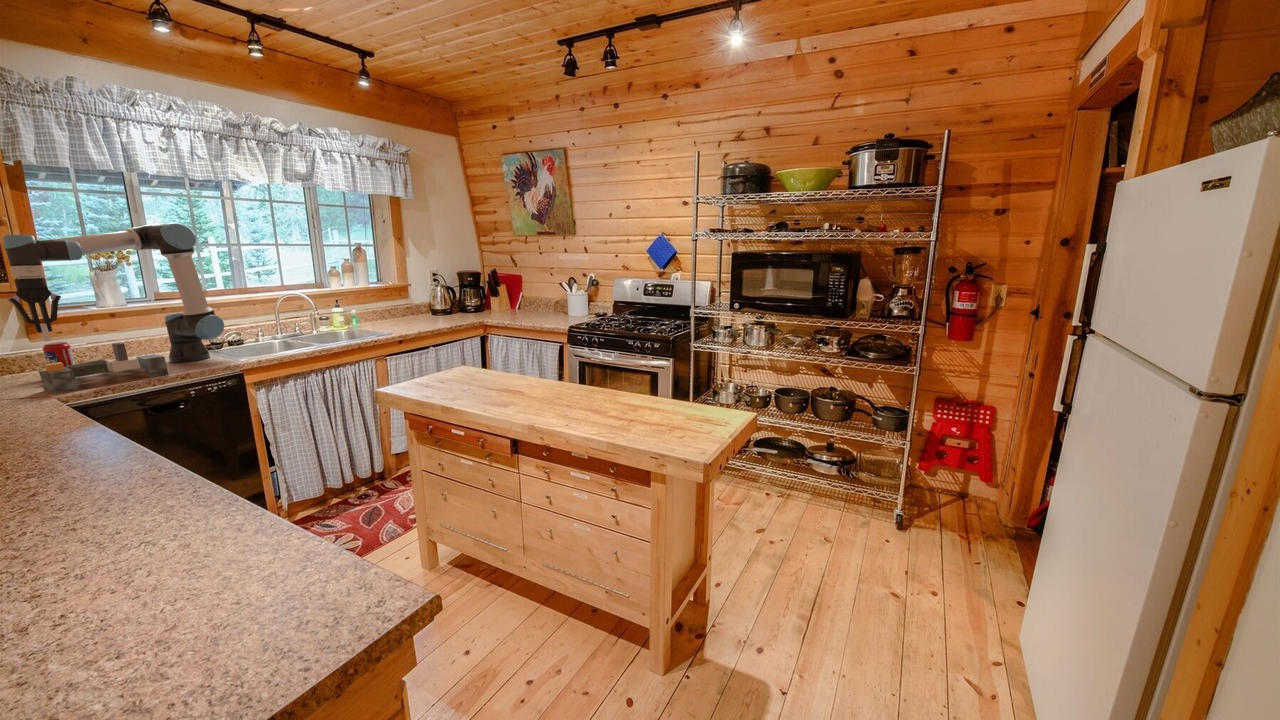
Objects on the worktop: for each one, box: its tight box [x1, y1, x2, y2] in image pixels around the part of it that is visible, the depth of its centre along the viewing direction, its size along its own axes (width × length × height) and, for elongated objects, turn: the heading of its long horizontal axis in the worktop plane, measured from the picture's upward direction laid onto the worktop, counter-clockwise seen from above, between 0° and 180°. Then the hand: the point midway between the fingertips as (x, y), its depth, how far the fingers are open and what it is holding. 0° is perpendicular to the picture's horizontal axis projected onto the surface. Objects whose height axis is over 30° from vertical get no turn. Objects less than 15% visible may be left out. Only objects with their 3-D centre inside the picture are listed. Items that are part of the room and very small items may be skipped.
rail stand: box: [38, 353, 169, 396], centre depth 206 cm, size 34×11×8 cm, turn 150°
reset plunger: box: [44, 362, 65, 372], centre depth 194 cm, size 4×4×4 cm
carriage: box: [106, 341, 140, 372], centre depth 209 cm, size 8×7×11 cm
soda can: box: [42, 341, 76, 366], centre depth 217 cm, size 8×8×15 cm
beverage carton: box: [64, 358, 111, 377], centre depth 215 cm, size 8×19×7 cm, turn 168°
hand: (47, 340), depth 192 cm, fingers closed
